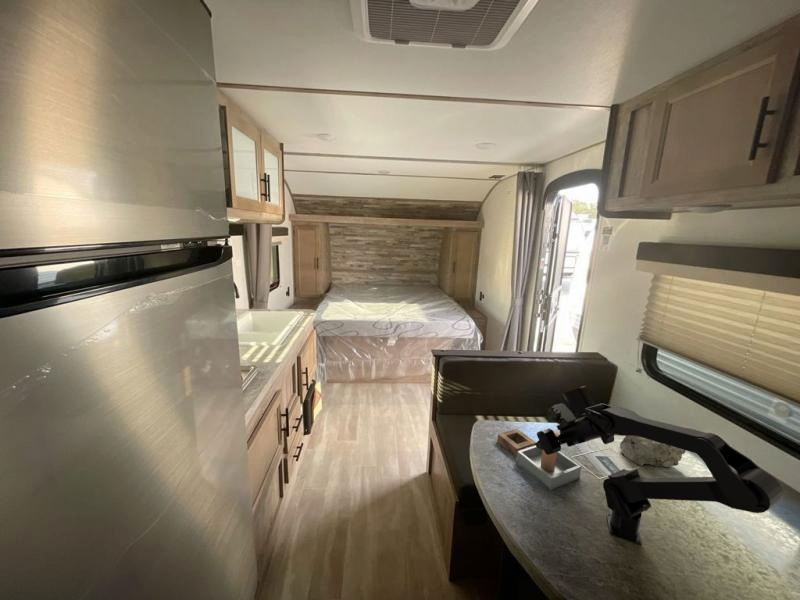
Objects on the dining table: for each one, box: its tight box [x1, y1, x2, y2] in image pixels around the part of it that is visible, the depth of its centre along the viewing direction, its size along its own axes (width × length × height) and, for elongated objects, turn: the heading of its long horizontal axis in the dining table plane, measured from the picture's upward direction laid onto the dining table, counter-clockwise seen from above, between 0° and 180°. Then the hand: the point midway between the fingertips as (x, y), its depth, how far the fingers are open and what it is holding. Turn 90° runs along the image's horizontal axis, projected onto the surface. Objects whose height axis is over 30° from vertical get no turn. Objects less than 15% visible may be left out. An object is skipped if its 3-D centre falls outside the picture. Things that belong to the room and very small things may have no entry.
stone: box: [619, 436, 686, 468], centre depth 106 cm, size 10×12×15 cm
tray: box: [515, 445, 582, 491], centre depth 100 cm, size 13×13×4 cm
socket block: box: [497, 428, 538, 458], centre depth 112 cm, size 9×9×3 cm
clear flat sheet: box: [570, 447, 641, 480], centre depth 105 cm, size 11×1×18 cm
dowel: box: [541, 429, 560, 472], centre depth 99 cm, size 4×4×12 cm
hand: (546, 442), depth 100 cm, fingers open, 9 cm apart
